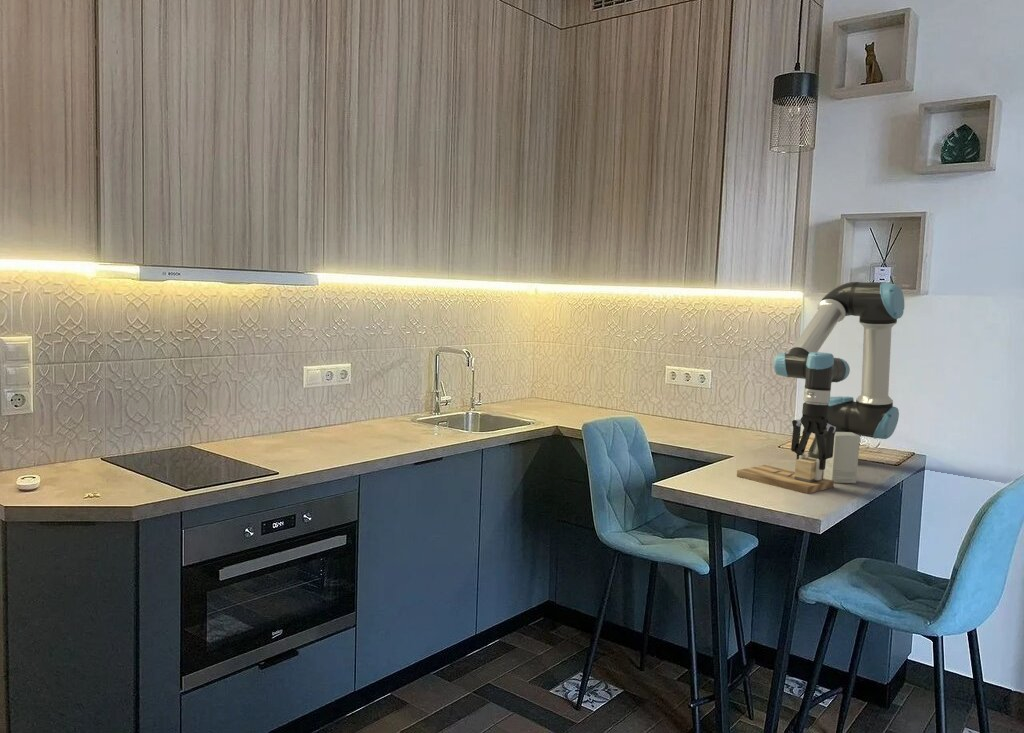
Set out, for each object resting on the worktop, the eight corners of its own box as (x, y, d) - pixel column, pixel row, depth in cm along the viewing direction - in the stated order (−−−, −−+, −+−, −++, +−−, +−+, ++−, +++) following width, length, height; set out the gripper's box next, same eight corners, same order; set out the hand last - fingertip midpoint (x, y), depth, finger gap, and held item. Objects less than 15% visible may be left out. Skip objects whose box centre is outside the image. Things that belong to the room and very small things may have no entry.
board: (763, 470, 261) (764, 464, 261) (833, 487, 243) (834, 480, 243) (736, 476, 251) (737, 470, 250) (807, 493, 233) (807, 487, 232)
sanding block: (807, 476, 247) (809, 457, 247) (822, 479, 243) (824, 460, 243) (794, 478, 242) (796, 459, 241) (809, 482, 238) (811, 462, 238)
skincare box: (847, 479, 255) (852, 431, 254) (857, 484, 249) (862, 435, 247) (822, 478, 255) (826, 430, 254) (831, 483, 249) (835, 434, 247)
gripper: (782, 399, 245) (776, 472, 247) (838, 408, 231) (831, 485, 234) (795, 398, 250) (788, 470, 252) (850, 406, 236) (843, 482, 239)
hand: (809, 477), depth 243 cm, fingers closed on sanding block, 5 cm apart
